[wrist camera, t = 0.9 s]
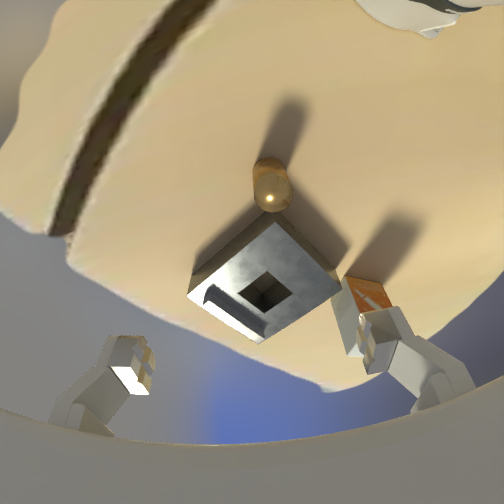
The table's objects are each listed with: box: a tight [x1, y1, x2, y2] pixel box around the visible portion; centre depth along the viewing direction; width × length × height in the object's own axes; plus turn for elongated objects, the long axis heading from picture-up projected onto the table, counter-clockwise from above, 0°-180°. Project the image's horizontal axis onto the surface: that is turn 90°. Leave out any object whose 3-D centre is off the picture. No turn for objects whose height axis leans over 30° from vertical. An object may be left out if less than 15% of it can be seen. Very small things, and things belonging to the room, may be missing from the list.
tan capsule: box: [253, 158, 293, 212], centre depth 36 cm, size 4×4×8 cm
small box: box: [331, 276, 393, 357], centre depth 46 cm, size 8×6×13 cm
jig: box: [187, 211, 343, 344], centre depth 46 cm, size 18×16×7 cm
